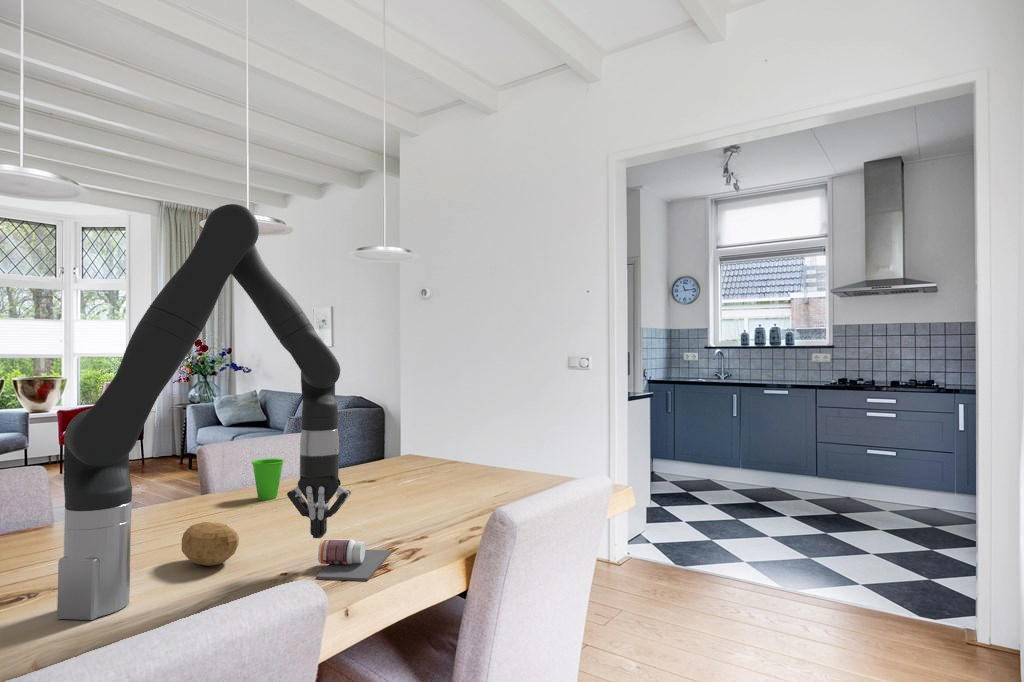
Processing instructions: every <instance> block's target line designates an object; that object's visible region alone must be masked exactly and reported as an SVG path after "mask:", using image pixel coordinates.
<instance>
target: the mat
mask: <svg viewBox="0 0 1024 682" xmlns="http://www.w3.org/2000/svg"><path fill="white" fill-rule="evenodd" d="M391 554H392V550H391V549H390V550H388V549H387V550H386V549H365V556H364V560H363V562H362V563H355V562H353V563H352V564H349V565H348V564H327V566H326V567H325V568H324V569H322V571H320V572H319V573H318V574H317V575H316V576H315V580H335V581H358V582H360V581H362V582H364V581H365V582H368V581H369V580H370V579H371V578H372V576H374V574H375V573H376V572H377V571H378V570H379V568H380V567H381V566H382V565H383V564H384V562H385V561H386V560H387V559H388V558H389V557H390V555H391Z"/></svg>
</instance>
